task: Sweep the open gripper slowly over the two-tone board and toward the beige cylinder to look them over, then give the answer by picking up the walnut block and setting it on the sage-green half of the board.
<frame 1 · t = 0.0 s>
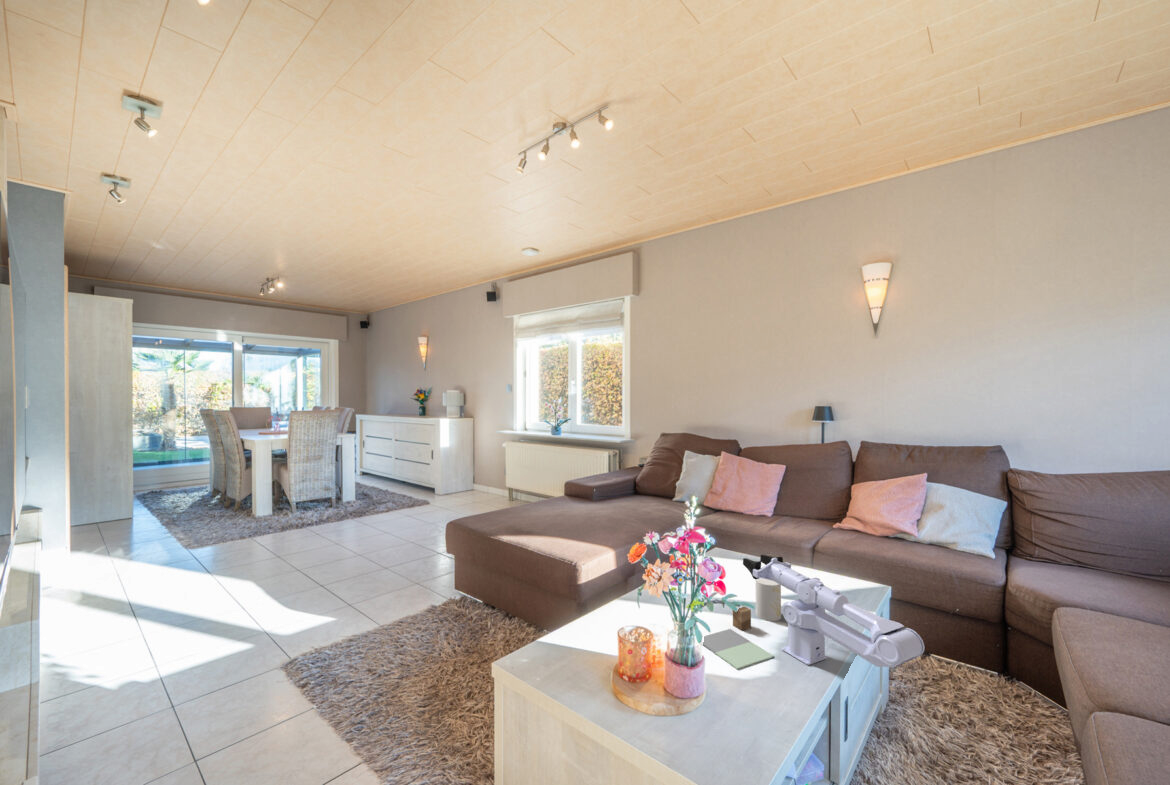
hand: (752, 559, 159), 22 cm above the table, tool horizontal, fingers open, 7 cm apart
beige cylinder: (768, 616, 166), on the table
block: (741, 626, 158), on the table
board: (733, 648, 144), on the table
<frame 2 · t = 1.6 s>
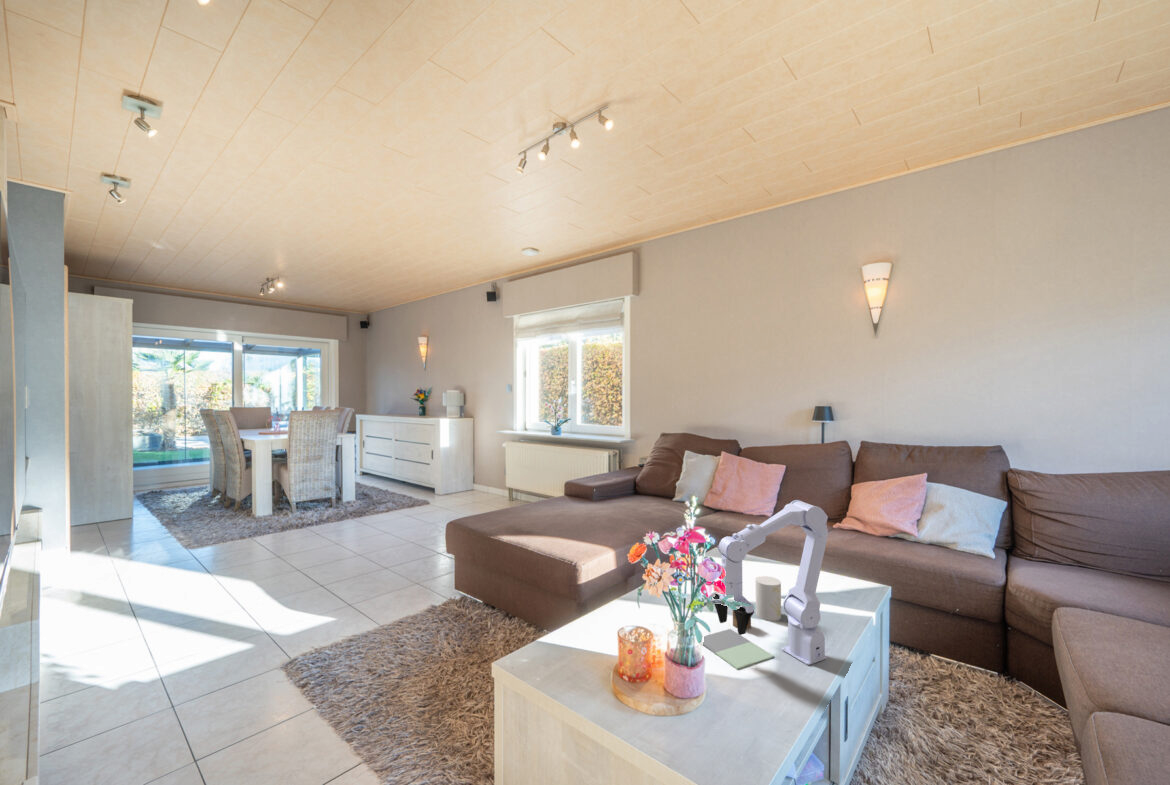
hand: (732, 627, 138), 9 cm above the table, tool pointing down, fingers open, 7 cm apart
nothing on the table moved.
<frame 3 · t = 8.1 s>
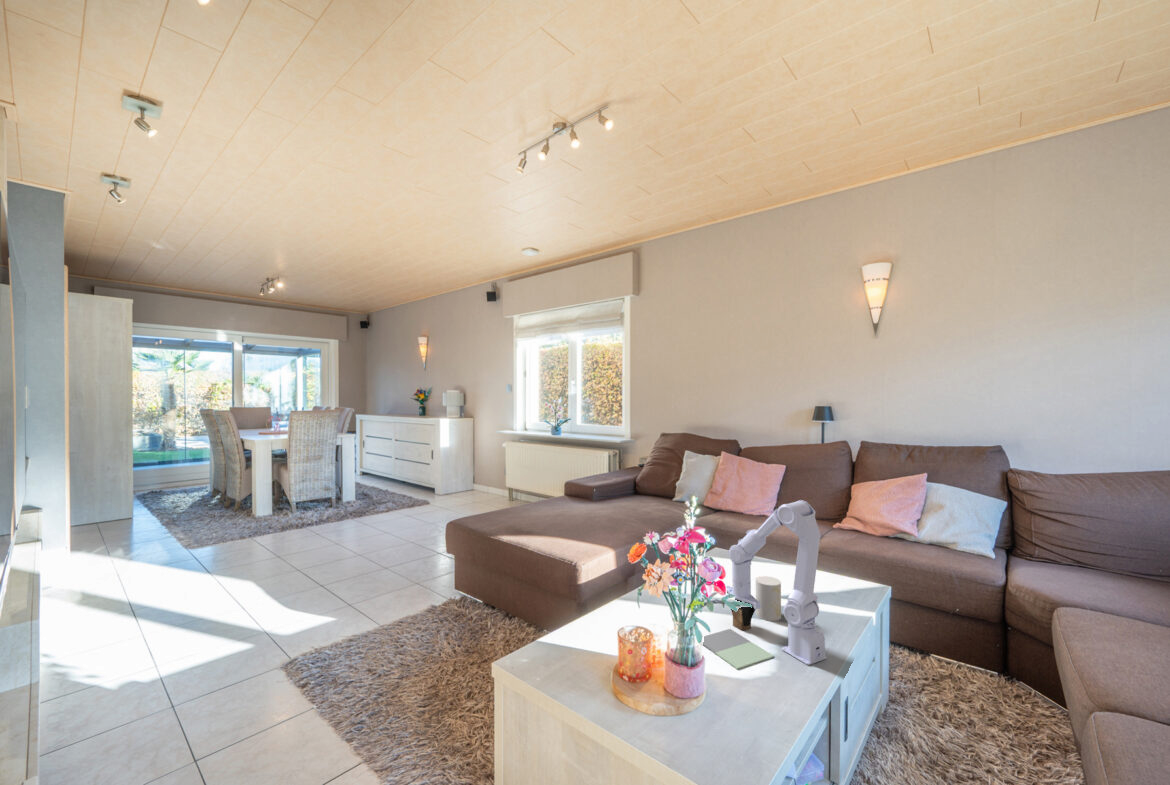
hand: (741, 622, 158), 1 cm above the table, tool pointing down, fingers closed on block, 4 cm apart
block: (741, 626, 158), on the table, touching gripper
everything else where it was.
when the fingers open (4 cm above the table, at t = 11.8 s): block drops 2 cm, resting on board.
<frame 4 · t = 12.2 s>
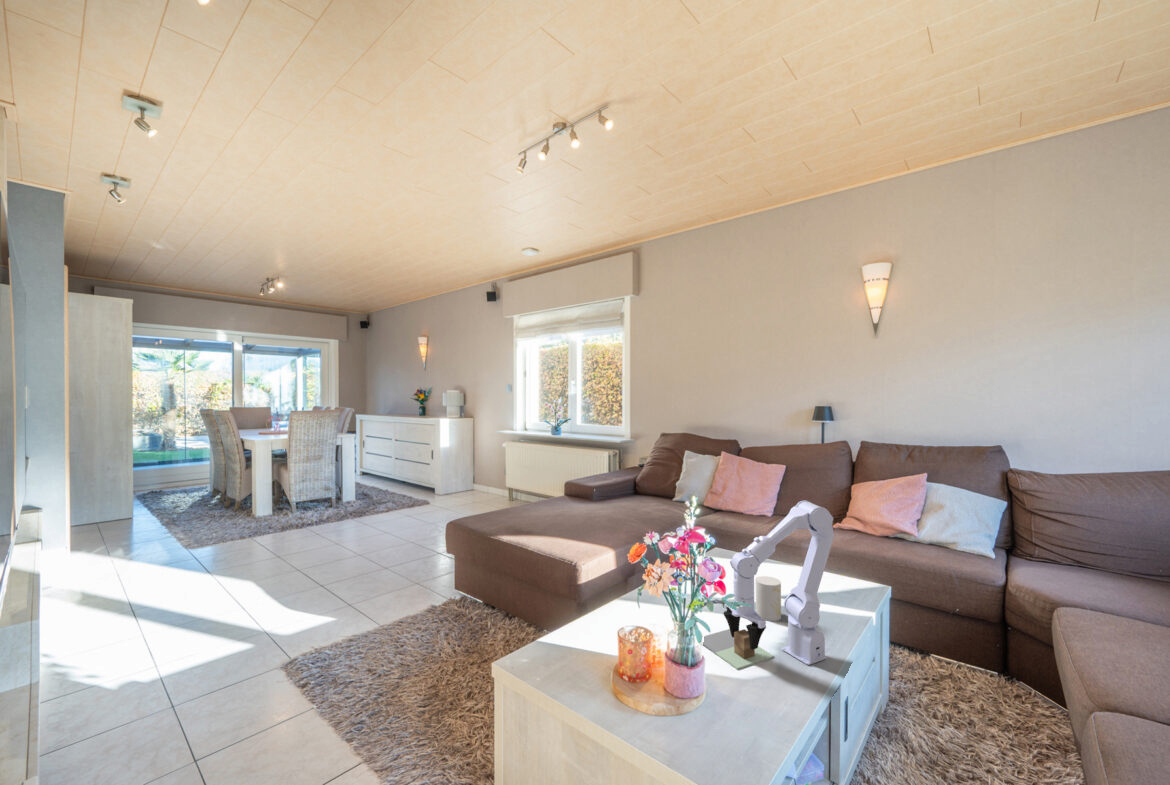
hand: (744, 642, 140), 4 cm above the table, tool pointing down, fingers open, 7 cm apart
block: (744, 654, 140), resting on board
everything else where it was.
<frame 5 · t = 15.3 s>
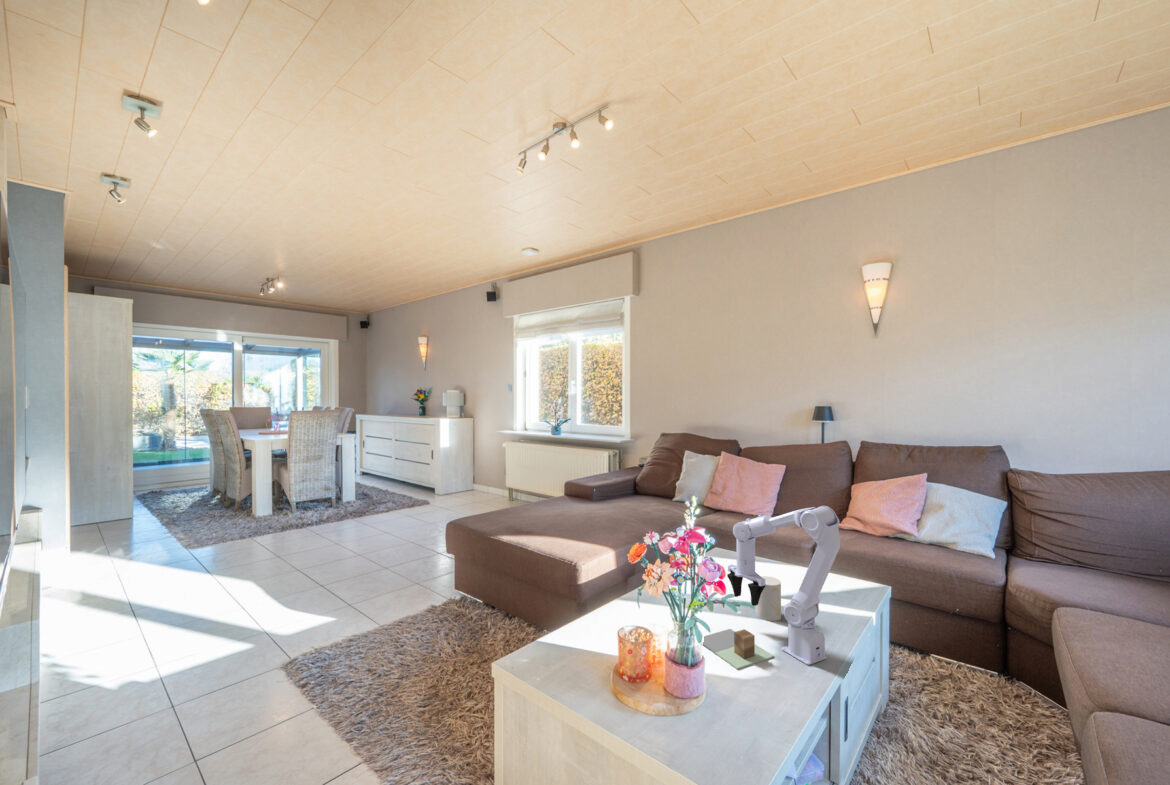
hand: (746, 600, 156), 9 cm above the table, tool pointing down, fingers open, 7 cm apart
nothing on the table moved.
at the end: block inside the target area on the board (0.2 cm from its centre), point 0.4 cm above the board's base; block tilted 0°; the gripper is holding nothing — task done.
